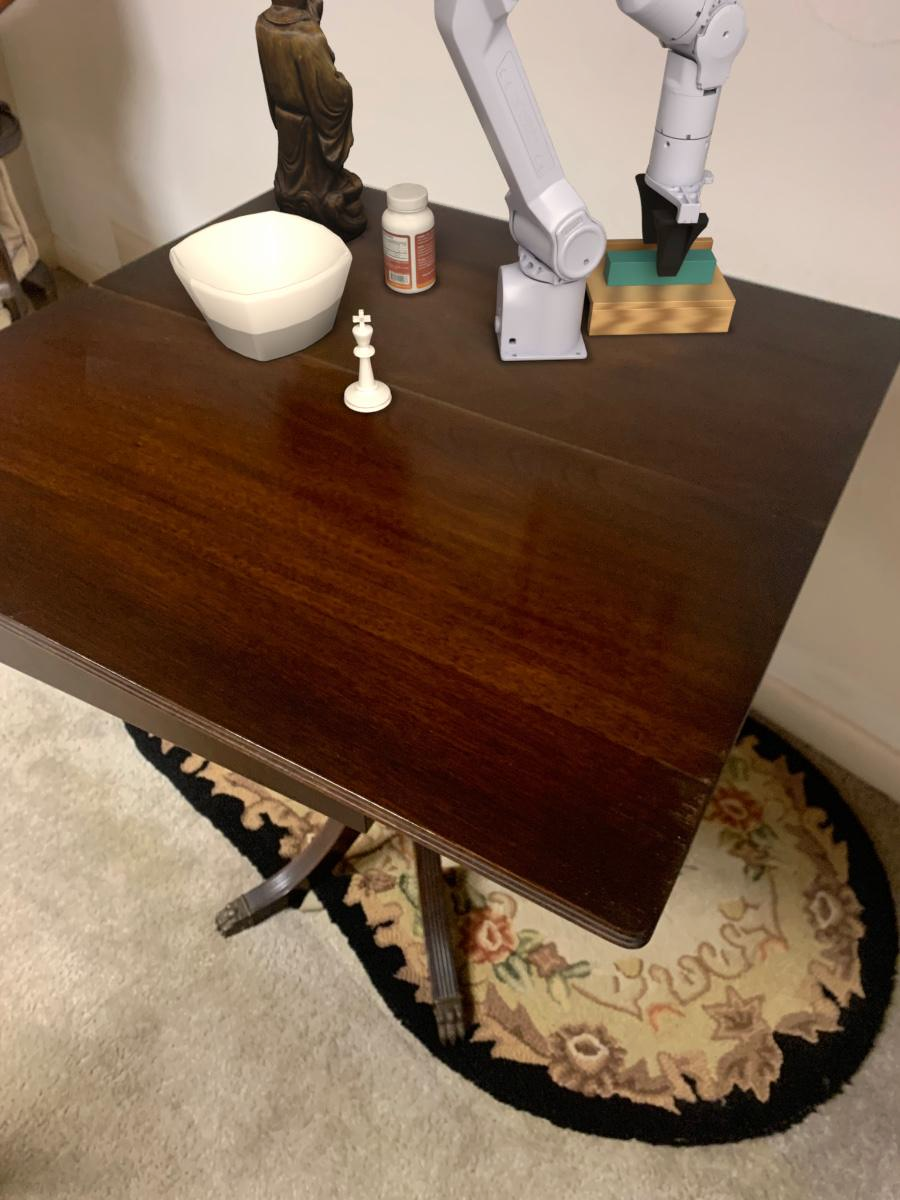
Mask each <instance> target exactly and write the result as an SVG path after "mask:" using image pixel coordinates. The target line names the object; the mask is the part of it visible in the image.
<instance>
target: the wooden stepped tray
mask: <svg viewBox="0 0 900 1200" xmlns="http://www.w3.org/2000/svg"><path fill="white" fill-rule="evenodd" d="M713 246H714V239H713V237H711V236H709V237H708V236H705V237H704V236H702V237H701V236H700V237H699V236H698V237H697V238H696V240H695V241H694V242H693V244H692V246H691V247H690V249H711V250H713ZM640 250H657V244H644V243H643V238H607V243H606V249H605V252H604V255H603V257H602V259H601V261H600V262H599V264H598V265H597V267H596V268H595V269H594V270H593V271H592V272H591V275H590V276H589V277H587V280H586V288H585V291H586V293H587V297H588V299H589V303H590V304H589V311H588V318H587V327H586V330H587V334H588V336H623V335H624V336H625V335H659V334H661V335H663V334H665V335H666V334H696V333H697V334H702V333H703V334H704V333H728V331H729V328H730V324H731V321H732V317H733V312H734V309H735V305H736V301H737V300H736V298H735V295H734V294H733V291H732V290H731V288H730V285H729V284H728V283H727V281H726V279H725V277H724V275H723V274H722V271H721V269H720V268H719V266H718V264H717V263H716V267H715V271H714V275H713V279H712V283H711V284H682V285H639V286H607V284H606V281H605V278H604V275H603V271H604V264H605V257H606V251H640Z"/></svg>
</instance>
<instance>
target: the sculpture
mask: <svg viewBox="0 0 900 1200" xmlns="http://www.w3.org/2000/svg"><path fill="white" fill-rule="evenodd" d="M270 1H271V5H270V6H269V7H268V8H267V9H265V10H263V11H262V12H261V13H260V14H259V15H257V18H256V21H255V26H254V32H255V40H256V47H257V55H258V61H259V65H260V70H261V76H262V81H263V87H264V91H265V96H266V97H265V98H266V101H267V106H268V111H269V112H268V113H269V115H270V119H271V122H272V124H273V127H274V129H275V130H276V132H277V133H276V134H277V157H276V158H277V159H276V160H277V161H276V168H275V172H274V179H273V193H274V194H273V195H274V201H275V204H276V207H277V208H278V209H279V212H282V213H286V214H291V215H296V216H300V217H302V218H305V219H308V220H310V221H313V222H315V223H318V224H321V225H323V226H324V227H326V228H327V229H329V230H330V231H332V232H333V233H334V234H336V235H337V236H339V237H340V238H341V240H342V241H343V242H344V243H345V242H347V241H350V240H351V239H354V238H356V237H358V236H359V235H360V234H362V232H363V231H364V230H365V229H366V228H367V224H368V216H367V215H366V214H365V213H366V212H365V207H364V204H363V201H362V200H361V198H360V197H361V195H362V193H363V190H364V184H363V180H362V179H361V177H360V176H359V175H358V174H357V173H355V172H353V171H350V170H349V169H347V168H346V167H345V163H346V162H347V160H348V158H349V155H350V152H351V149H352V147H353V146H354V142H355V137H354V132H353V113H354V111H353V110H354V95H353V94H354V93H353V87H352V84H351V83H350V82H349V81H348V79H347V78H346V76H345V74H344V73H343V72H342V71H339V70H337V67H336V66H335V62H336V54H335V52H334V51H333V49H332V47H331V46H330V44H329V42H328V39H327V37H326V35H325V32H324V30H323V29H322V27H321V21H322V18H323V14H324V0H270Z"/></svg>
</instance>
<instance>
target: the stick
mask: <svg viewBox="0 0 900 1200" xmlns="http://www.w3.org/2000/svg"><path fill="white" fill-rule="evenodd" d="M712 250H713V249H712ZM712 250H711V249H689V251H688V253H687V255H686V257H685V259H684V261H683V264H682V266H681V268H680V270H679V272H678V274H677V275H676V276H675V277H658V275H657V270H656V256H657V250H640V251H606V257H605V264H604V271H603V275H604V278H605V281H606V284H607V286H639V285H682V284H711V283H712V279H713V275H714V271H715V267H716V264H717V262H718V260H717V258H716V256H715V254H714V251H712Z"/></svg>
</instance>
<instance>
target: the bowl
mask: <svg viewBox="0 0 900 1200" xmlns="http://www.w3.org/2000/svg"><path fill="white" fill-rule="evenodd" d="M168 256H169V261H170V263H171V267H172V268H173V271H174V273H175V275H176V276H177V278H178V279H179V281H180V282H181V284H182V285H183V287H184V289H185V291H186V292H187V294H188V295H189V297H190V298H191V300H192V301H193V303H194V305H195V307H197V309H198V311H199V312H200V313H201V315H202V317H203V318H204V320H205V322H206V323H207V325H208V326H209V328H210V329H211V331H212V332H213V334H214V336H215V337H216V338H217V339H218V341H220V342H221V343H222V344H223V345H224V346H225V348H227V349H230V350H231V351H233V352H236V353H237V354H240V355H242V356H244V357H246V358H249V359H253V360H256V361H258V362H269V361H271V360H272V361H273V360H275V359H279V358H283V357H286V356H289V355H292V354H295V353H297V352H300V351H303V350H305V349H307V348H308V347H310V346H312V345H313V344H315V343H316V342H318V341H320V340H321V339H323V338H324V337H325V336H326V335H328V334H329V333H330V332H331V331H332V330H333V328H334V324H335V321H336V318H337V314H338V310H339V307H340V303H341V299H342V296H343V293H344V290H345V286H346V283H347V280H348V276H349V273H350V270H351V269H350V268H351V265H352V261H353V255H352V252H351V251H350V249H349V247H348V246H347V245H346V244H345V241H344V242H343V241H342V240H341V238H340V237H339V236H337V235H336V234H334V233H333V232H332V231H330V230H329V229H327V228H326V227H324V226H323V225H321V224H318V223H315V222H313V221H310V220H308V219H305V218H302V217H300V216H296V215H291V214H286V213H282V212H281V211H276V210H267V211H262V212H256V213H251V214H246V215H240V216H236V217H234V218H230V219H227V220H223V221H221V222H216V223H213V224H211V225H208V226H207V227H204V228H203V229H200V230H199V231H197V232H194V233H192V234H190V235H188V236H187V237H185V238H184V239H182V241H180V242H179V243H177V244H176V245H174V246H173V247H172V248H170V250H169V254H168Z"/></svg>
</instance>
